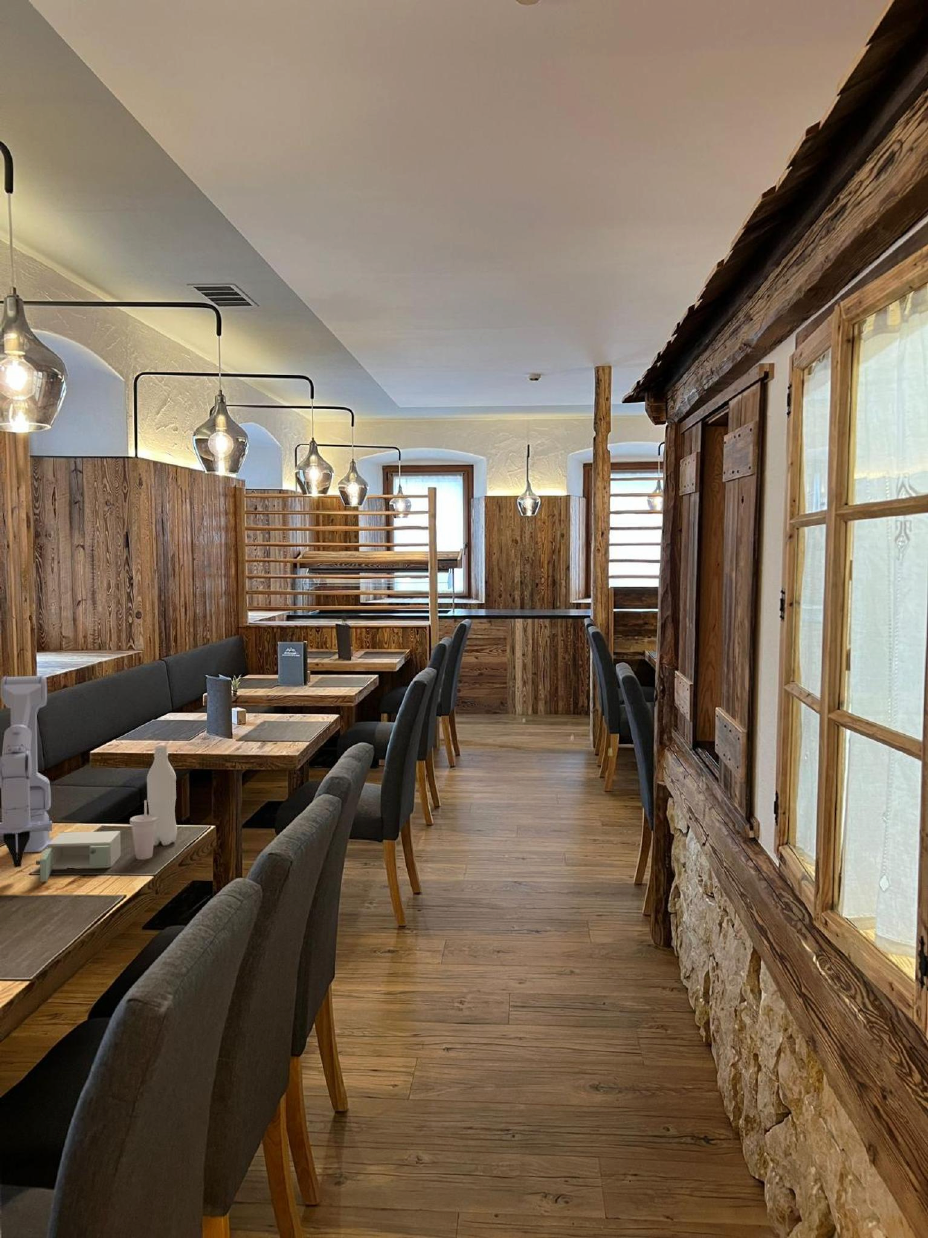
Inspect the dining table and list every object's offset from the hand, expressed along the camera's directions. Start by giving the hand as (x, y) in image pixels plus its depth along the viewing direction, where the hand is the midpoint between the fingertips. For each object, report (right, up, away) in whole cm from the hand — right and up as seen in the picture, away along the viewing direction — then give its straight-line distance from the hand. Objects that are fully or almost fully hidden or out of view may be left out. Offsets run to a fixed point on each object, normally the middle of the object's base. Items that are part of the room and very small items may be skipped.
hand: (17, 866), depth 203 cm
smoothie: (+23, -3, +17) cm, 28 cm away
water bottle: (+23, -2, +28) cm, 36 cm away
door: (+5, -3, +2) cm, 6 cm away
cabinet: (+10, -3, +11) cm, 16 cm away
